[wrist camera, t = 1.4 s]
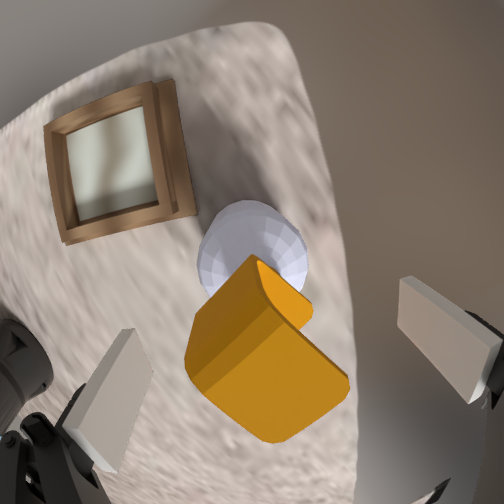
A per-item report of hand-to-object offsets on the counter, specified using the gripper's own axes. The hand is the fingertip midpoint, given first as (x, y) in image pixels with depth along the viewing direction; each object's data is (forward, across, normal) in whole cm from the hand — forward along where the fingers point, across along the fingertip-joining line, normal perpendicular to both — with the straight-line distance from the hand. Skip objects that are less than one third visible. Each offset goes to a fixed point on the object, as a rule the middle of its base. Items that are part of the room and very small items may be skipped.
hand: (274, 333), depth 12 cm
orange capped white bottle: (+20, 0, 0) cm, 20 cm away
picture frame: (+20, -14, +12) cm, 27 cm away
